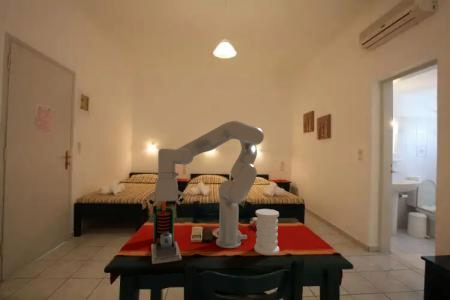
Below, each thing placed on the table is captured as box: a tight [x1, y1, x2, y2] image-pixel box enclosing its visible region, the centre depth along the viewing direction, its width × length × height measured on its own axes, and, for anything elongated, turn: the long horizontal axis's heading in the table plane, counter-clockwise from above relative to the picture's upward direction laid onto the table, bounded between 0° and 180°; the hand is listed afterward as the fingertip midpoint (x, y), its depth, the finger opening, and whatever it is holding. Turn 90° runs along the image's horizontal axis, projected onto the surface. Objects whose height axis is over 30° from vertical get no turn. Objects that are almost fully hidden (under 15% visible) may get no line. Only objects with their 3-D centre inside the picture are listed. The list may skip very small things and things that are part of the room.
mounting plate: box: [150, 240, 183, 265], centre depth 106 cm, size 12×18×4 cm, turn 18°
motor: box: [152, 201, 175, 243], centre depth 121 cm, size 10×9×20 cm
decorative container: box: [253, 208, 280, 256], centre depth 111 cm, size 12×12×18 cm
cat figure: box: [249, 216, 258, 230], centre depth 138 cm, size 10×9×25 cm
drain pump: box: [160, 232, 172, 249], centre depth 106 cm, size 5×6×8 cm
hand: (166, 213), depth 106 cm, fingers open, 9 cm apart
